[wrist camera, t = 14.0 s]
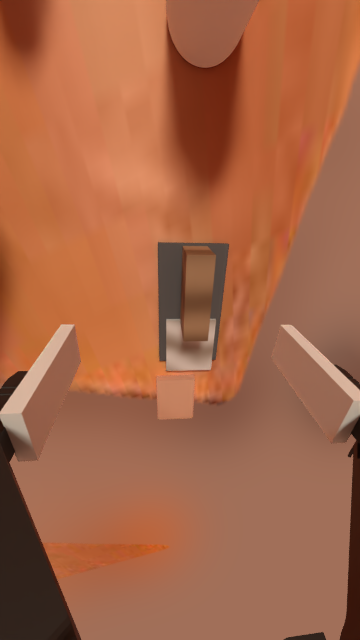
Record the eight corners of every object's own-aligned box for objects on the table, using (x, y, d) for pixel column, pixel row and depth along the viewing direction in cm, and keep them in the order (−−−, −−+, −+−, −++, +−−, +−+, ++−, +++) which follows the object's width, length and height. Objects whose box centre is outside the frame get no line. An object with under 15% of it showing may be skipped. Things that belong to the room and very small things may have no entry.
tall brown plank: (166, 245, 33) (167, 254, 28) (222, 246, 34) (234, 255, 29) (166, 368, 43) (167, 392, 38) (210, 367, 44) (217, 391, 39)
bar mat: (159, 358, 43) (159, 360, 42) (158, 242, 34) (158, 243, 33) (214, 357, 44) (215, 359, 43) (227, 243, 35) (228, 244, 34)
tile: (156, 374, 45) (157, 412, 50) (156, 380, 43) (157, 419, 48) (193, 373, 45) (191, 411, 50) (194, 379, 44) (192, 417, 48)
